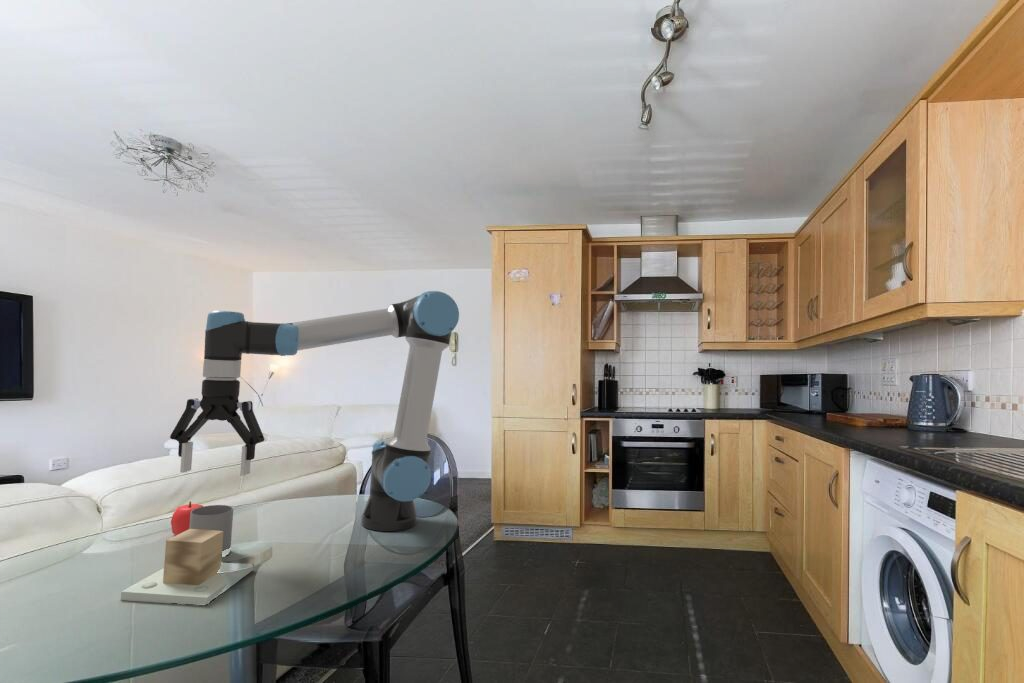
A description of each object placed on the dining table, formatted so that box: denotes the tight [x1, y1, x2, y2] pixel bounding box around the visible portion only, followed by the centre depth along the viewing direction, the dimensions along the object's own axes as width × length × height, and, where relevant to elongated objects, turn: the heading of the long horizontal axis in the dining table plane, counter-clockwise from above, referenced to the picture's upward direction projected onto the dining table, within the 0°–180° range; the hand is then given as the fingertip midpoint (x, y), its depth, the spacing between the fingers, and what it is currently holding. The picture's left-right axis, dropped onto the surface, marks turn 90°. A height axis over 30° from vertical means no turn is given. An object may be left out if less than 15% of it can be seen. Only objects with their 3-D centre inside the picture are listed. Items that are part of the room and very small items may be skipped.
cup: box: [189, 504, 234, 551], centre depth 118 cm, size 8×8×10 cm
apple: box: [170, 501, 204, 536], centre depth 130 cm, size 8×8×8 cm
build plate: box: [120, 567, 228, 605], centre depth 103 cm, size 16×16×2 cm
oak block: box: [163, 529, 223, 585], centre depth 103 cm, size 7×7×8 cm
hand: (215, 473), depth 118 cm, fingers open, 13 cm apart
